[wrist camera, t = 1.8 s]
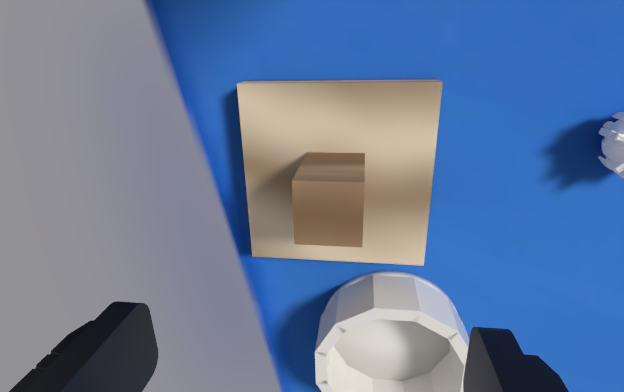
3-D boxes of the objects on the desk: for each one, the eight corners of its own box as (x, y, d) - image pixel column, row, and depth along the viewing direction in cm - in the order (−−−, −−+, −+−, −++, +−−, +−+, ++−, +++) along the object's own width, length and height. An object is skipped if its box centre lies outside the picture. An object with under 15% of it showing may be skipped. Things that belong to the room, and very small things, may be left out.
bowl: (321, 266, 24) (313, 304, 21) (466, 272, 23) (485, 314, 20) (323, 373, 28) (317, 423, 24) (452, 383, 26) (466, 438, 23)
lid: (243, 81, 20) (200, 94, 15) (438, 79, 19) (465, 92, 14) (257, 246, 24) (226, 303, 19) (420, 254, 23) (437, 318, 17)
